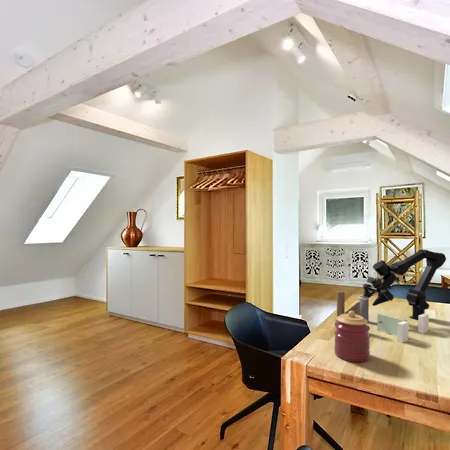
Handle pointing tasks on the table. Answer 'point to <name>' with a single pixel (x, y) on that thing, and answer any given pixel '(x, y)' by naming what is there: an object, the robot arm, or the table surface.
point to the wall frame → (422, 327)
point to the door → (388, 324)
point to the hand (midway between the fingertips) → (367, 303)
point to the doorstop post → (364, 307)
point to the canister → (352, 337)
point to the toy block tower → (342, 305)
